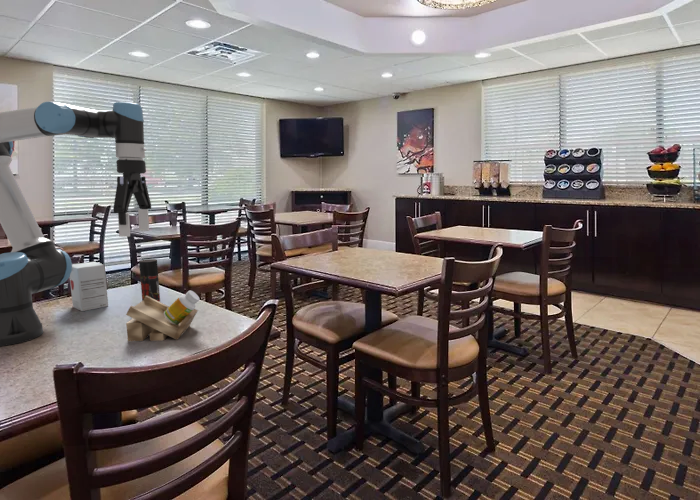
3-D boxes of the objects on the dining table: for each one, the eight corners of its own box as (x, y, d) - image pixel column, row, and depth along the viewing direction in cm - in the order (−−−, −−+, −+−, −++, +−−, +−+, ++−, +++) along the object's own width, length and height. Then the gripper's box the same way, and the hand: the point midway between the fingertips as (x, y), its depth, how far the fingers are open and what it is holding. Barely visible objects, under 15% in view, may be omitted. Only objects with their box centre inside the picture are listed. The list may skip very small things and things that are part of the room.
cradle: (127, 341, 129) (124, 306, 127) (144, 327, 140) (141, 295, 139) (187, 339, 129) (185, 305, 128) (198, 326, 141) (196, 294, 140)
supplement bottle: (171, 326, 131) (196, 302, 131) (159, 312, 132) (183, 288, 132) (181, 325, 137) (204, 301, 136) (169, 311, 138) (192, 288, 137)
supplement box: (71, 306, 163) (67, 264, 161) (99, 301, 170) (95, 261, 167) (81, 311, 157) (76, 268, 155) (109, 306, 164) (105, 264, 161)
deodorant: (143, 300, 171) (140, 259, 169) (160, 298, 173) (157, 258, 171) (141, 304, 166) (137, 262, 163) (159, 302, 168) (156, 261, 165)
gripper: (125, 158, 121) (129, 239, 125) (160, 160, 146) (163, 228, 149) (95, 157, 121) (101, 239, 124) (135, 160, 146) (139, 228, 149)
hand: (135, 233), depth 137 cm, fingers open, 13 cm apart
